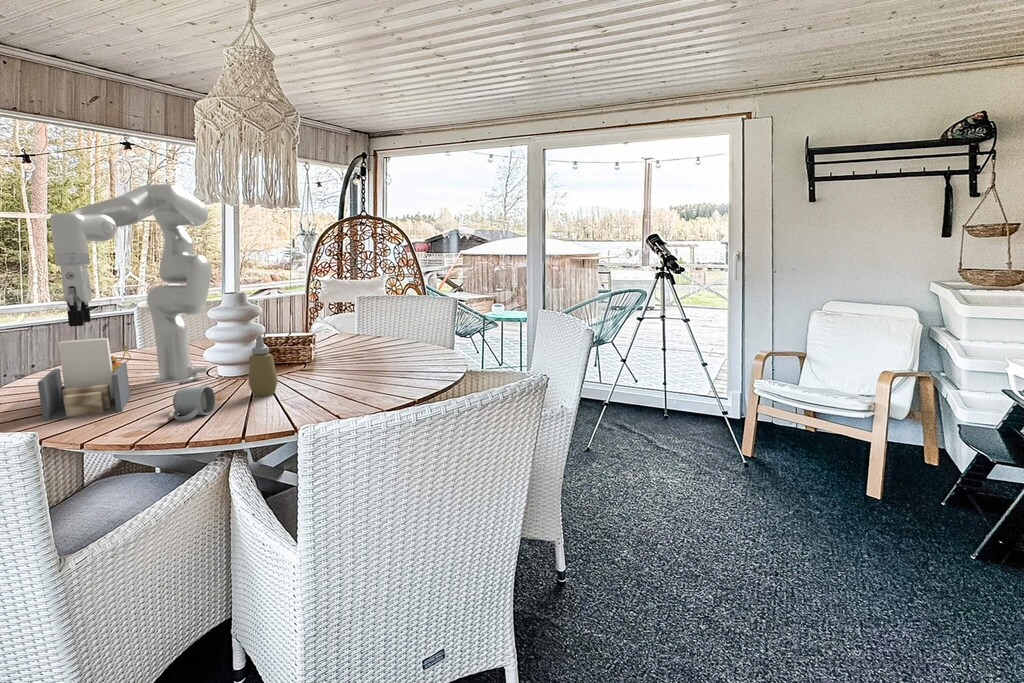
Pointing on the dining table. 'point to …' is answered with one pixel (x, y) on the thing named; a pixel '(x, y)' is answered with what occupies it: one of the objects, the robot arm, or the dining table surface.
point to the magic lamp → (115, 362)
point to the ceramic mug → (193, 402)
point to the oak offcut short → (84, 403)
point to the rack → (53, 388)
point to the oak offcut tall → (90, 389)
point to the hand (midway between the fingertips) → (80, 324)
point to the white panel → (86, 363)
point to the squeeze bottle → (262, 370)
